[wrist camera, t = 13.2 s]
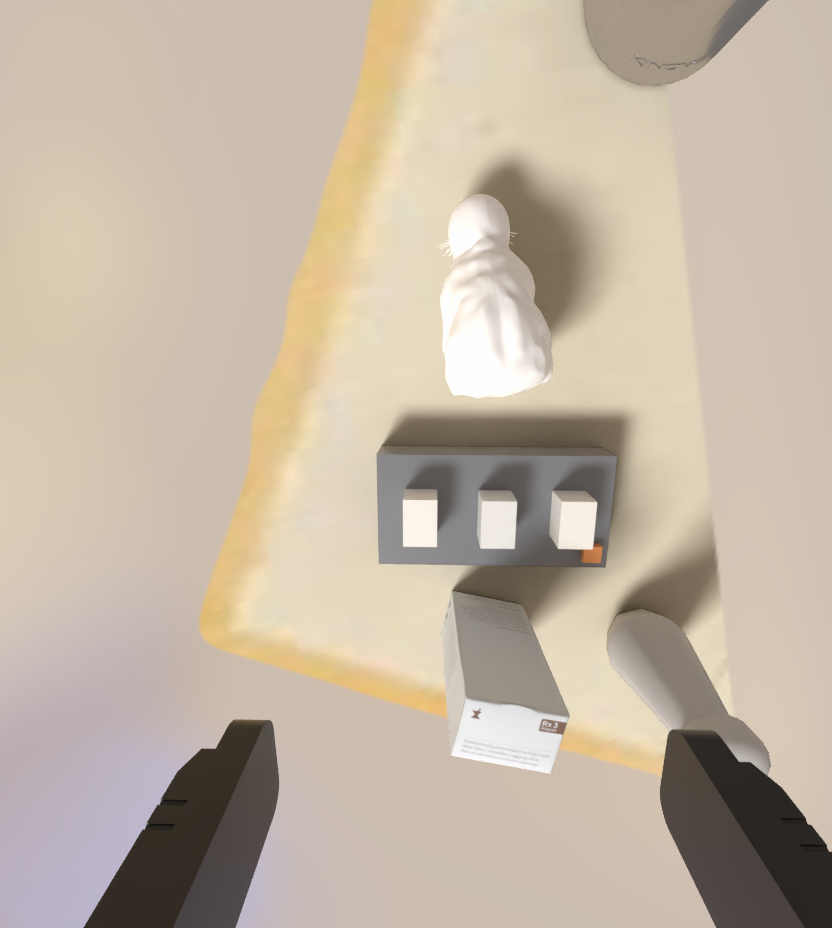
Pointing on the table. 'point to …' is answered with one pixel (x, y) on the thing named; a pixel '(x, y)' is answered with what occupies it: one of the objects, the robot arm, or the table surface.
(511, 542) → the block
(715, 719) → the salt shaker
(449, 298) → the whiskered white figurine
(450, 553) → the panel
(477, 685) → the skincare box
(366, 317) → the table surface
